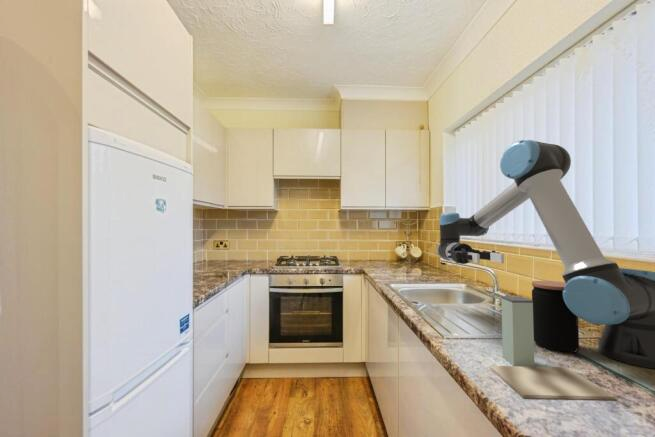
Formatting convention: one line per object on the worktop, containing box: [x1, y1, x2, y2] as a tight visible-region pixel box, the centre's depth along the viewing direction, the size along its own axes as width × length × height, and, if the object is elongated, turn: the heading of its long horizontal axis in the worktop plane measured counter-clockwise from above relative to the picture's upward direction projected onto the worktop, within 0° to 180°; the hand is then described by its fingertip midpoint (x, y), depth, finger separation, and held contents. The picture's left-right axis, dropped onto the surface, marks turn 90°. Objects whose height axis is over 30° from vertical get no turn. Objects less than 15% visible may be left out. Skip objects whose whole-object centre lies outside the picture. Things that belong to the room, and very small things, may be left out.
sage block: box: [500, 295, 535, 367], centre depth 77 cm, size 5×5×16 cm
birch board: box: [489, 365, 617, 401], centre depth 67 cm, size 18×13×1 cm
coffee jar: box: [531, 280, 580, 354], centre depth 88 cm, size 11×11×18 cm
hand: (490, 258), depth 91 cm, fingers open, 6 cm apart
